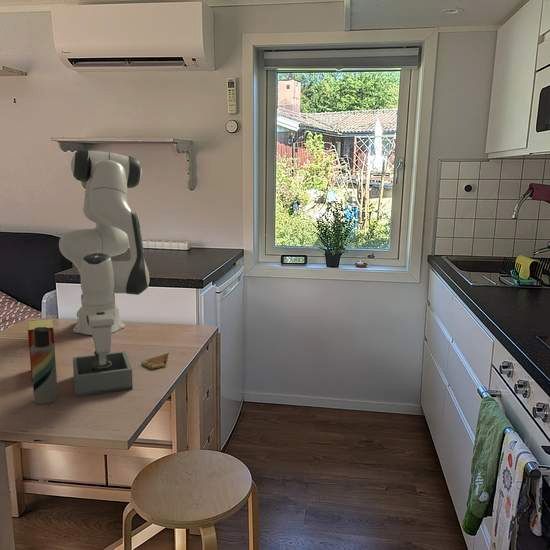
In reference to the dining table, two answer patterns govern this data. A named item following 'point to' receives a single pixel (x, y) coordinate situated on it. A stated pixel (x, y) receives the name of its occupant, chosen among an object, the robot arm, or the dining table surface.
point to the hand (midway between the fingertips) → (101, 357)
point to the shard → (156, 361)
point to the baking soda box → (35, 324)
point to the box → (102, 375)
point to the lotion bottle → (43, 367)
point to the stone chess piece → (100, 368)
